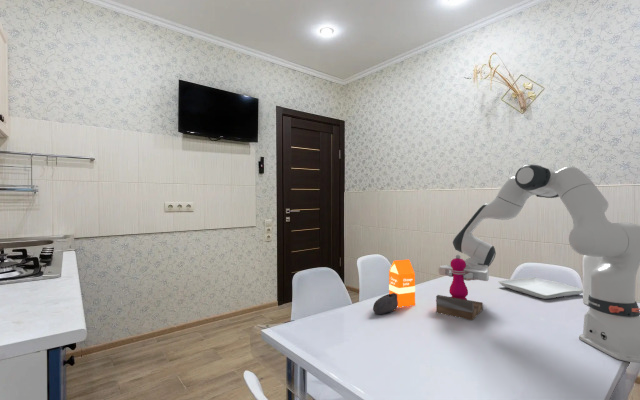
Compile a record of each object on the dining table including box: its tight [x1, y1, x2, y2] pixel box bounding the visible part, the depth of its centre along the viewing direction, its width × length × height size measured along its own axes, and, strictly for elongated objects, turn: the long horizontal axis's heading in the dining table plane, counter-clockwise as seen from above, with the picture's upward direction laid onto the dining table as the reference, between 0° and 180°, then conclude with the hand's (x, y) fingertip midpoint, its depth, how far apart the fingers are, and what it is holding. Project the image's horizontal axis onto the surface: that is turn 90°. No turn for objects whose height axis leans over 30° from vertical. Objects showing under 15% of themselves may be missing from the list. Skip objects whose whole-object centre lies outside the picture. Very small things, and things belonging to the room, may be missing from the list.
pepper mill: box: [449, 254, 469, 300], centre depth 136 cm, size 7×7×20 cm
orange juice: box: [388, 259, 416, 308], centre depth 147 cm, size 8×9×20 cm
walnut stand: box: [435, 294, 484, 321], centre depth 137 cm, size 16×14×7 cm
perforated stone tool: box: [372, 293, 398, 315], centre depth 137 cm, size 15×5×7 cm, turn 128°
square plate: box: [498, 277, 583, 300], centre depth 166 cm, size 27×27×4 cm
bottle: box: [582, 255, 602, 306], centre depth 144 cm, size 8×8×30 cm
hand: (457, 275), depth 135 cm, fingers closed on pepper mill, 5 cm apart
